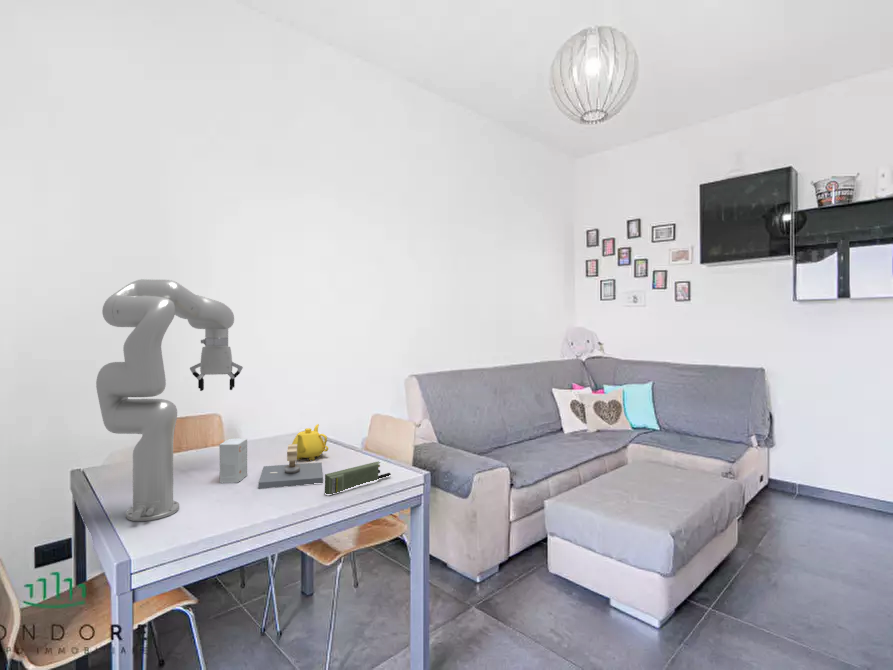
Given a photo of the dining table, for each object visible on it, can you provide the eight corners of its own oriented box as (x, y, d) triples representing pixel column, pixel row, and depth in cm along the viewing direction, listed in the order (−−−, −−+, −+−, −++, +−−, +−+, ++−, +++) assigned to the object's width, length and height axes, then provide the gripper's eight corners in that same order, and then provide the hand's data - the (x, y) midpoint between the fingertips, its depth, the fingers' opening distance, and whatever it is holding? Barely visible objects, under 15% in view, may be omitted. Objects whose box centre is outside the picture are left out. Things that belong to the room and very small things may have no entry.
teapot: (318, 465, 176) (319, 435, 176) (280, 464, 177) (281, 433, 177) (336, 451, 196) (337, 424, 195) (302, 450, 197) (302, 422, 197)
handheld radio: (323, 494, 147) (386, 476, 164) (328, 497, 144) (392, 479, 162) (323, 473, 146) (387, 458, 164) (329, 476, 144) (393, 460, 162)
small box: (229, 475, 163) (229, 438, 163) (247, 475, 163) (247, 438, 163) (218, 483, 155) (218, 444, 155) (238, 483, 155) (238, 444, 155)
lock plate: (322, 483, 156) (322, 477, 156) (258, 488, 150) (258, 482, 150) (321, 467, 173) (321, 461, 173) (263, 471, 168) (263, 465, 168)
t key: (299, 474, 158) (299, 451, 157) (283, 476, 156) (284, 452, 156) (300, 466, 167) (300, 443, 167) (285, 467, 166) (285, 444, 166)
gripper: (187, 343, 164) (187, 392, 164) (241, 343, 169) (241, 390, 169) (192, 342, 171) (192, 389, 171) (243, 342, 176) (243, 388, 176)
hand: (216, 390), depth 170 cm, fingers open, 9 cm apart
